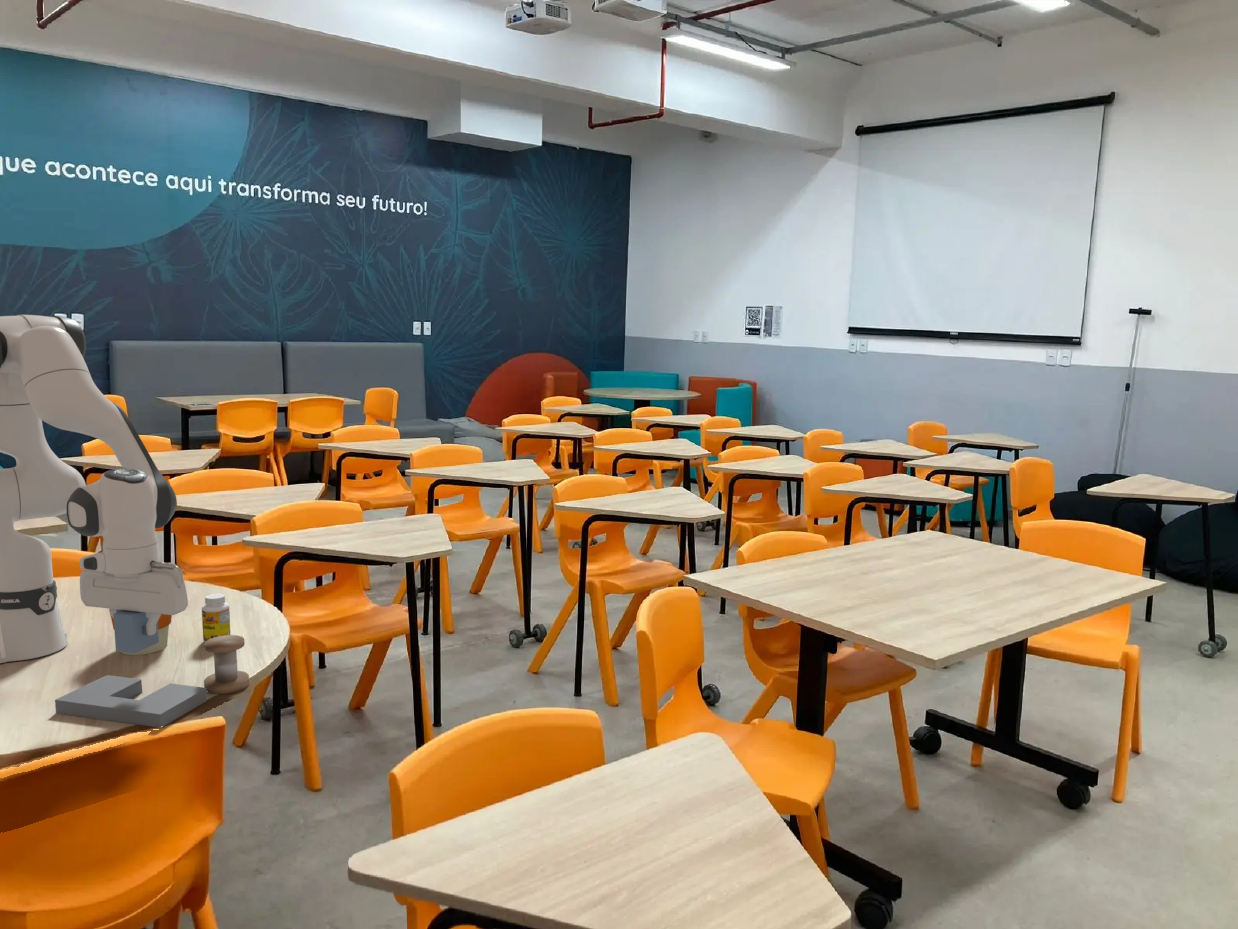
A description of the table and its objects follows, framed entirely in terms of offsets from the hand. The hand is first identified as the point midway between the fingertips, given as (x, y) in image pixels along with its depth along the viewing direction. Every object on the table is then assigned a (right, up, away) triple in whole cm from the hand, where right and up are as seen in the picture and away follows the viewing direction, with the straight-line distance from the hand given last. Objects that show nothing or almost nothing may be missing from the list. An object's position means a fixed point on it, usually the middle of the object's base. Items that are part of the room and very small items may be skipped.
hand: (136, 633), depth 167 cm
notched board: (-1, -14, 0) cm, 14 cm away
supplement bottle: (-1, -8, +35) cm, 36 cm away
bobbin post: (+12, -12, +10) cm, 20 cm away
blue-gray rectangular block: (0, -3, 0) cm, 3 cm away
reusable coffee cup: (-14, -9, +30) cm, 34 cm away
